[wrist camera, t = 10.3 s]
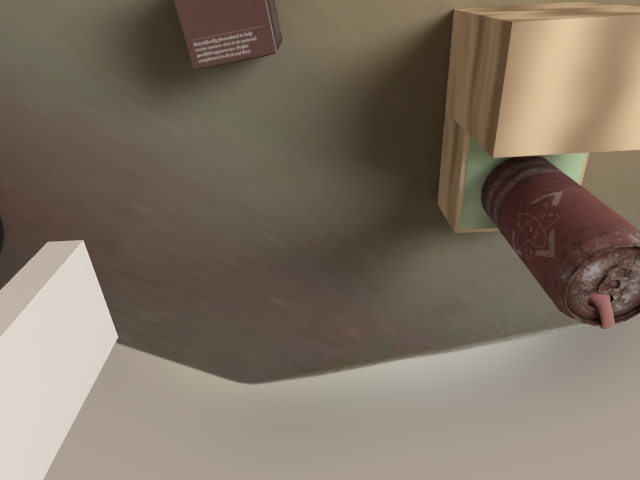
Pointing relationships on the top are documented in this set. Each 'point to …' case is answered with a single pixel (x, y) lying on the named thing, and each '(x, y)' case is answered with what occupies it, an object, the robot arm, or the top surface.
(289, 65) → the top surface
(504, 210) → the can
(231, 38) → the box
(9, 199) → the top surface
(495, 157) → the stand
